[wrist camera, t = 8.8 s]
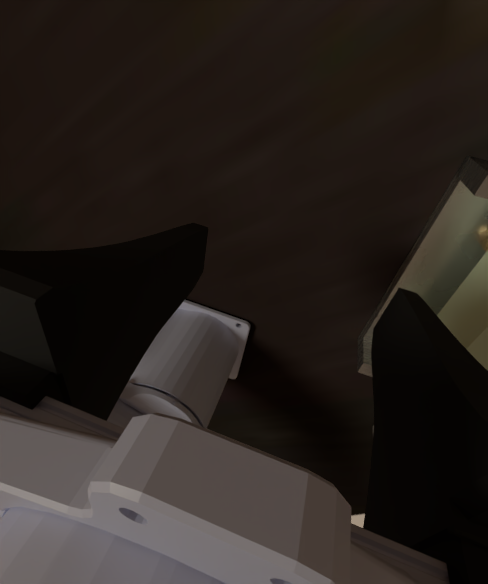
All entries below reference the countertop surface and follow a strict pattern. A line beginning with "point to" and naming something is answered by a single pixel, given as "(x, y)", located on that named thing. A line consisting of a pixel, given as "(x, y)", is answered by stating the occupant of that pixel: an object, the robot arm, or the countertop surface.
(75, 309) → the robot arm
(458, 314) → the board
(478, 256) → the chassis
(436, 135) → the countertop surface
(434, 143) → the countertop surface
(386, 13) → the countertop surface
